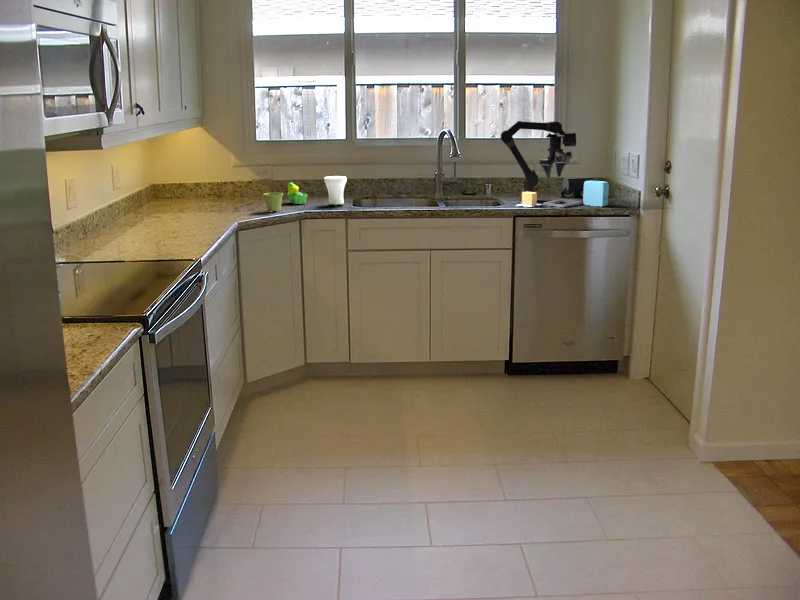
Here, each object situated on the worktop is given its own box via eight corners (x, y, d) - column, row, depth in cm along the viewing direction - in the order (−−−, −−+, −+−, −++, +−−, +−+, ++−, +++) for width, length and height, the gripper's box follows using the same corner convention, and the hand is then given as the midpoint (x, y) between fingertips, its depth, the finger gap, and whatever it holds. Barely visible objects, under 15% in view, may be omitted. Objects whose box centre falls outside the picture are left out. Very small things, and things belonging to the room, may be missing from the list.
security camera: (557, 196, 415) (557, 178, 412) (588, 195, 419) (589, 176, 417) (562, 198, 409) (563, 179, 406) (594, 196, 413) (595, 178, 410)
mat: (515, 206, 385) (515, 204, 385) (527, 203, 391) (527, 202, 391) (530, 207, 378) (530, 206, 378) (542, 205, 385) (542, 204, 385)
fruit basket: (308, 204, 399) (307, 182, 396) (292, 205, 395) (291, 183, 392) (301, 201, 409) (300, 180, 406) (285, 203, 405) (284, 181, 402)
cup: (351, 205, 393) (350, 177, 389) (331, 207, 388) (330, 179, 384) (341, 203, 402) (340, 175, 399) (321, 204, 397) (320, 177, 393)
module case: (543, 205, 385) (543, 202, 384) (561, 202, 396) (561, 199, 395) (563, 208, 377) (563, 205, 376) (581, 204, 387) (582, 201, 387)
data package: (608, 206, 380) (609, 182, 377) (602, 207, 377) (603, 182, 374) (588, 203, 389) (589, 179, 386) (582, 204, 386) (583, 180, 383)
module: (521, 204, 386) (522, 192, 384) (526, 203, 388) (527, 191, 387) (531, 205, 381) (532, 193, 380) (536, 204, 384) (536, 192, 382)
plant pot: (273, 209, 383) (272, 192, 381) (288, 210, 379) (287, 193, 377) (260, 212, 376) (259, 194, 373) (275, 213, 371) (274, 195, 369)
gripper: (557, 148, 381) (556, 180, 385) (579, 146, 394) (577, 177, 398) (539, 147, 389) (538, 178, 393) (560, 145, 402) (559, 175, 406)
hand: (553, 177), depth 397 cm, fingers open, 9 cm apart
